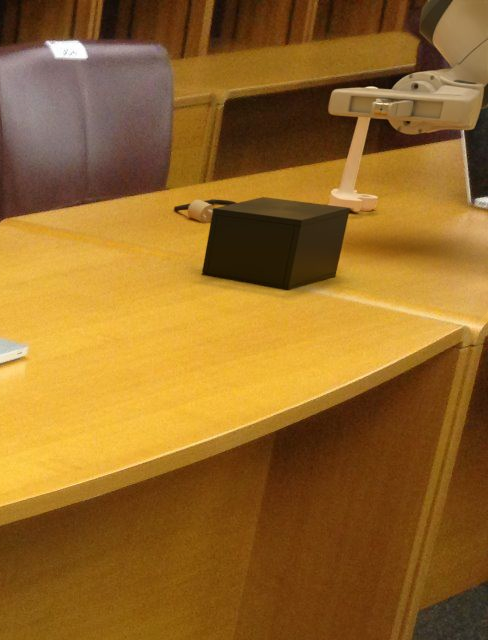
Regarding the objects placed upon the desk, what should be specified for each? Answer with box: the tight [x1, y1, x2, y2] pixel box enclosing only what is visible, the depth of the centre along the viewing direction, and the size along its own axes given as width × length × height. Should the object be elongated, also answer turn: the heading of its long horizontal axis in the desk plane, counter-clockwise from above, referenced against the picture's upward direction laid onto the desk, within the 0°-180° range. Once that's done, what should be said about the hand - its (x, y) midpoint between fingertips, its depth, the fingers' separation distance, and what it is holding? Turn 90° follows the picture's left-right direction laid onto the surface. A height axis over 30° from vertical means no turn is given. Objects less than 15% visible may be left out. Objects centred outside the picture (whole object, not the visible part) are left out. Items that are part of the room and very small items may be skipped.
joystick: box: [327, 86, 379, 212], centre depth 263 cm, size 11×8×20 cm
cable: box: [173, 198, 237, 223], centre depth 260 cm, size 16×16×4 cm
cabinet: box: [201, 196, 351, 291], centre depth 214 cm, size 15×13×10 cm
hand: (381, 109), depth 223 cm, fingers closed
